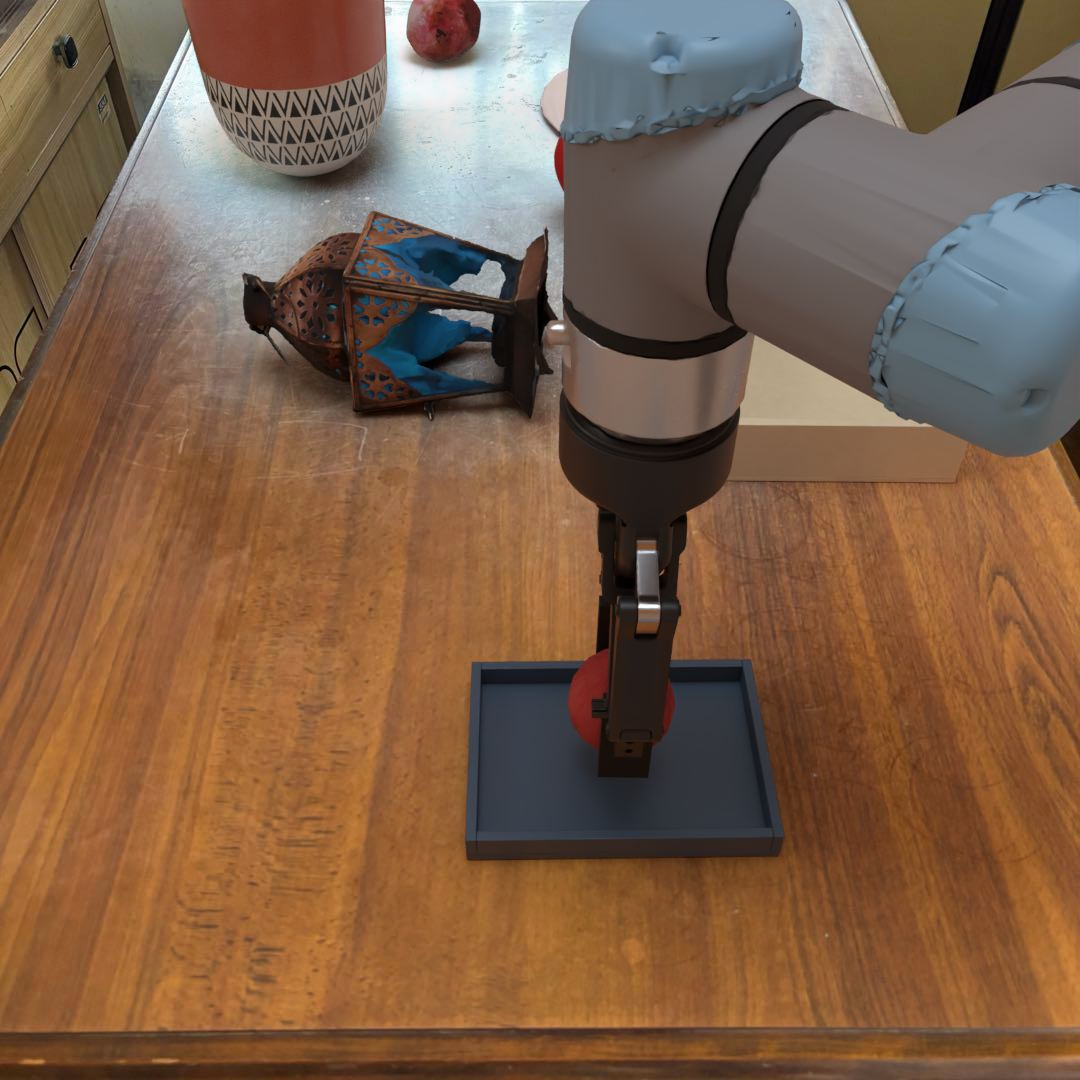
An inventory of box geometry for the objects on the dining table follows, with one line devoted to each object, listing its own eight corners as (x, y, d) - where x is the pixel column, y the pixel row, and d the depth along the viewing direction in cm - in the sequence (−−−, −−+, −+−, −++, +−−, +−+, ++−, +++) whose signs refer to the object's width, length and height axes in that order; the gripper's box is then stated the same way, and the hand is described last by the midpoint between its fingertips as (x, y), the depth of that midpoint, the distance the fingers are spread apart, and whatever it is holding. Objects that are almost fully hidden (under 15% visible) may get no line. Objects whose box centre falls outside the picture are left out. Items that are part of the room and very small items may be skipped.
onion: (654, 694, 66) (666, 604, 60) (679, 776, 62) (694, 688, 56) (558, 707, 65) (561, 618, 59) (577, 791, 61) (582, 704, 55)
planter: (180, 188, 114) (125, -34, 99) (277, 111, 127) (241, -96, 111) (348, 223, 109) (317, -6, 94) (431, 139, 122) (416, -74, 107)
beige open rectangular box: (954, 482, 82) (974, 426, 78) (718, 480, 82) (727, 424, 79) (897, 331, 96) (912, 277, 92) (695, 329, 96) (702, 275, 92)
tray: (746, 679, 69) (751, 658, 68) (779, 856, 61) (785, 836, 59) (473, 682, 69) (471, 661, 68) (466, 860, 61) (464, 840, 59)
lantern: (549, 431, 96) (263, 410, 96) (563, 243, 95) (273, 221, 95) (552, 427, 80) (207, 401, 80) (568, 199, 79) (218, 173, 78)
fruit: (494, 49, 140) (492, -36, 132) (460, 77, 133) (456, -10, 126) (431, 37, 142) (425, -46, 135) (394, 65, 136) (386, -22, 129)
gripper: (559, 268, 52) (553, 595, 69) (559, 555, 39) (552, 875, 55) (718, 269, 52) (674, 596, 69) (773, 557, 39) (702, 877, 55)
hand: (620, 720), depth 62 cm, fingers closed on onion, 6 cm apart
